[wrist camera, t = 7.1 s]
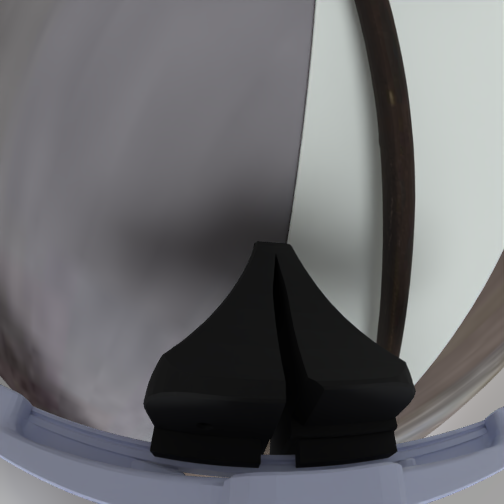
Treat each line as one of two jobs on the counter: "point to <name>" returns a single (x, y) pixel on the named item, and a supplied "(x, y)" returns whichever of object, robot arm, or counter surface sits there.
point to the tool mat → (426, 166)
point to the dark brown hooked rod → (391, 166)
